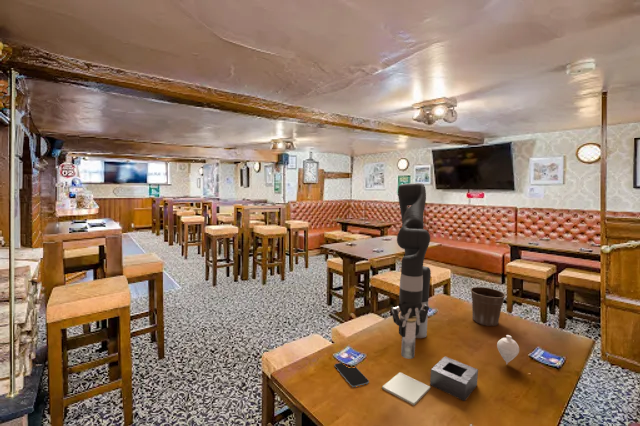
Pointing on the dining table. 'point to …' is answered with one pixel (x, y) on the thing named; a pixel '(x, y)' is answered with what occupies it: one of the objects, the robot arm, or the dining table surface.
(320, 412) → the dining table surface
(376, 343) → the dining table surface
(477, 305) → the plant pot
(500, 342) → the spinning top
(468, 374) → the eye block
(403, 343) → the steel peg
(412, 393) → the cream pad
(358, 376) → the smartphone
